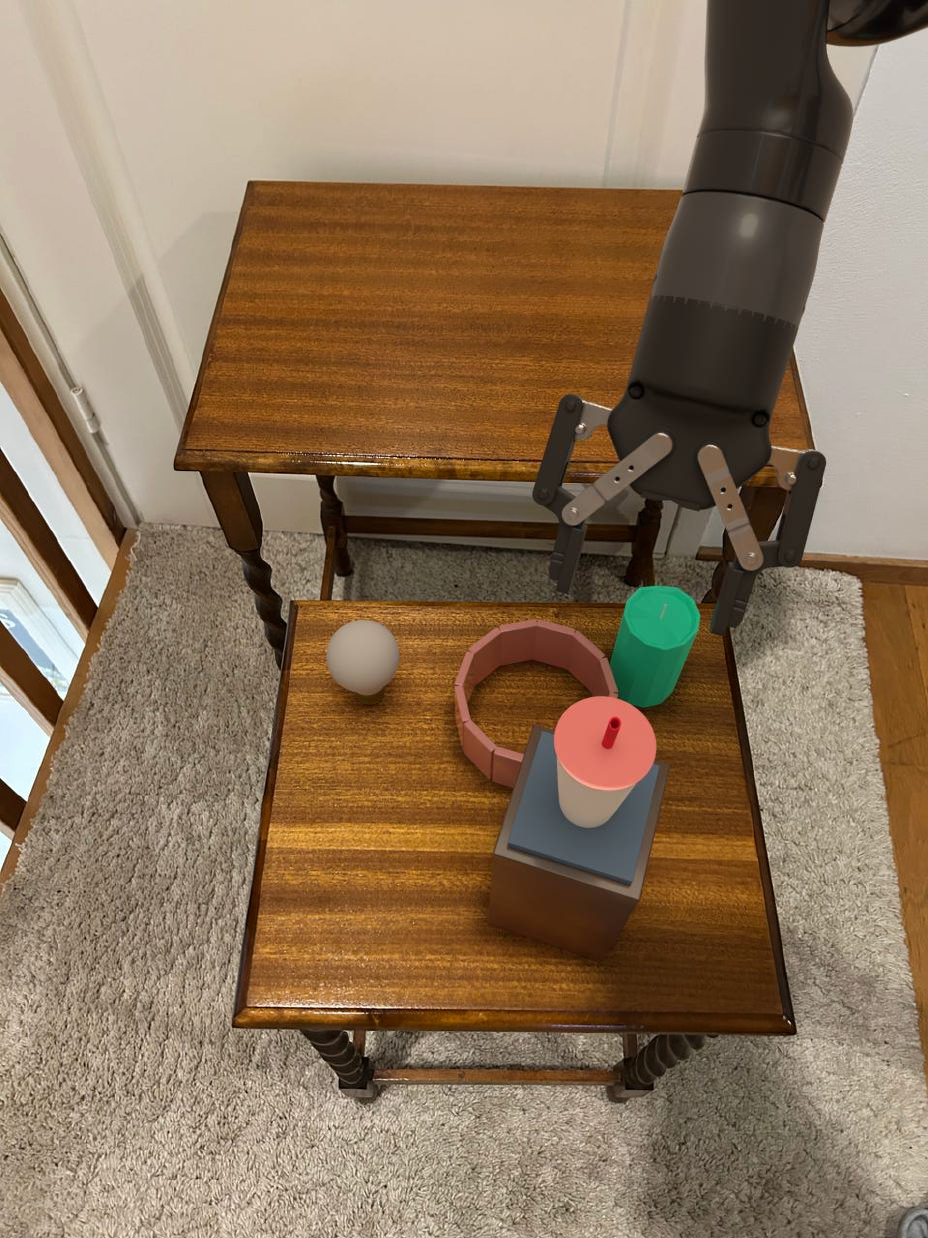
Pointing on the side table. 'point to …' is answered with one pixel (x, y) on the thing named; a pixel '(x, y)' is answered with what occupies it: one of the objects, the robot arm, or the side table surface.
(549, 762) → the coaster
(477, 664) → the pink segmented ring
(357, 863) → the side table surface
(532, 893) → the stand
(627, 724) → the cup
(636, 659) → the candle
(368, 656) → the light bulb
